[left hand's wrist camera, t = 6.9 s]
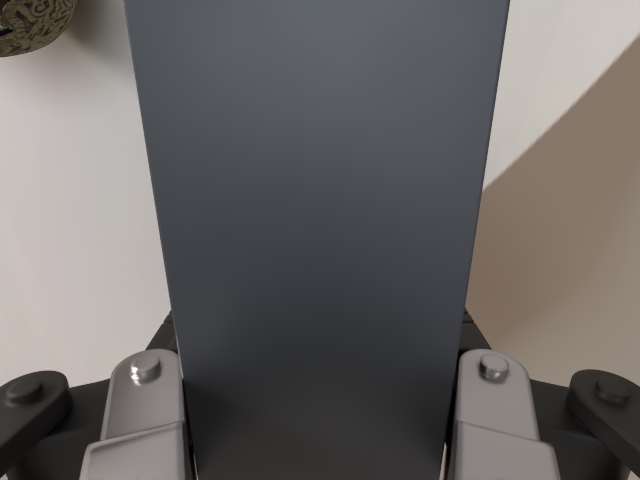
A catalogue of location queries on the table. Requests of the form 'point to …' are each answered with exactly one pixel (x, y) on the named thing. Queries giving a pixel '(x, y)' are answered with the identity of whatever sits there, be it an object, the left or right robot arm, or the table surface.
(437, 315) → the bar
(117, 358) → the table surface
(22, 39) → the cup
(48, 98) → the table surface
